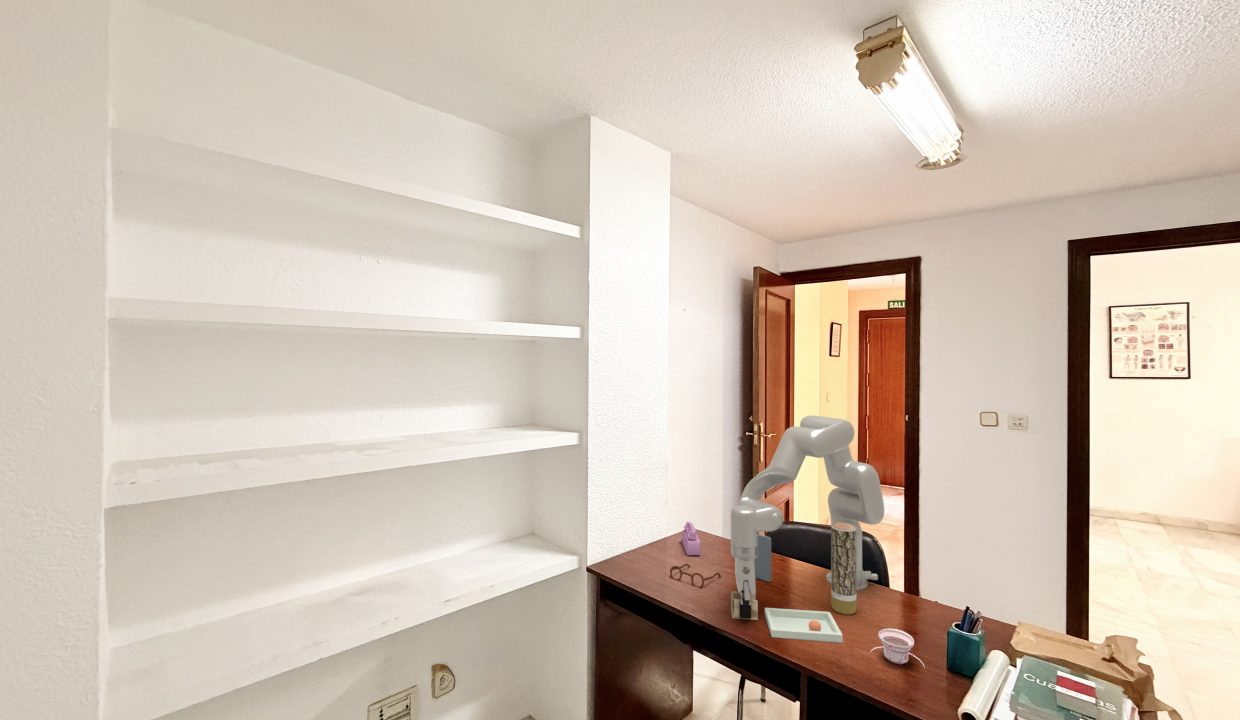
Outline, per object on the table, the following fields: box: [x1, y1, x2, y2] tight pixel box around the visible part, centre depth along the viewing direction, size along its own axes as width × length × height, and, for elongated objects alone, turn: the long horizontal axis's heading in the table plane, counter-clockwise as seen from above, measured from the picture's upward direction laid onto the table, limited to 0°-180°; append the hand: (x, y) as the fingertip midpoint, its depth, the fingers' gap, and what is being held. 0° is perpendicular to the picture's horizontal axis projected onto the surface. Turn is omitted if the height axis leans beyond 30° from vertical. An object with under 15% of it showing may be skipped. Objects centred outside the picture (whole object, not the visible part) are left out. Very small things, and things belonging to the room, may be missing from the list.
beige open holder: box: [730, 591, 759, 621], centre depth 143 cm, size 7×5×5 cm
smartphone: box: [754, 533, 772, 583], centre depth 168 cm, size 8×1×15 cm, turn 47°
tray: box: [764, 607, 844, 644], centre depth 136 cm, size 18×12×2 cm, turn 82°
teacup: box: [870, 628, 925, 669], centre depth 122 cm, size 12×12×6 cm
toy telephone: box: [678, 521, 702, 556], centre depth 196 cm, size 18×6×10 cm, turn 1°
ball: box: [809, 620, 821, 632], centre depth 134 cm, size 3×3×3 cm
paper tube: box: [830, 522, 857, 616], centre depth 147 cm, size 7×7×25 cm
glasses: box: [669, 562, 722, 589], centre depth 169 cm, size 13×13×5 cm
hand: (744, 611), depth 143 cm, fingers open, 5 cm apart
